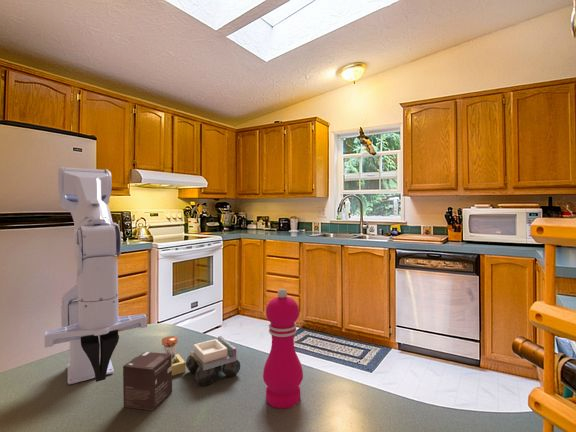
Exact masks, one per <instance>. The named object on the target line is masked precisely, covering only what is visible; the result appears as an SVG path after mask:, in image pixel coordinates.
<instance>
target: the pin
mask: <svg viewBox="0 0 576 432" xmlns="http://www.w3.org/2000/svg"><path fill="white" fill-rule="evenodd" d="M178 340H179V337H178V336H176V335H169V336H165V337H163V338H161V345H162V346H163V353H165V354H171V361H172V364H175V363H176V354H177V344H178V342H179V341H178Z"/></svg>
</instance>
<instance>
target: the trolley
mask: <svg viewBox="0 0 576 432" xmlns="http://www.w3.org/2000/svg"><path fill="white" fill-rule="evenodd" d="M217 340H218V341H219V342H220V343H222V344H223V345H224V346H225V347H226V348H227V356H226V357H223V358H219V359H216V360H212V361H209V362H205V363H204V362H203V361H202V360H201V359H200V358H199V357H198V356H197V355H196V354H195V353H194V349H192V350H189V355H188V356H187V358H186V360H185V368H186V369H187V370H188V371H189V372H190V373H192V374H194V376H195V380H196V381H197V382H198V384H199V385H201V386H202V387H207V386H209V385H211V384H212V383H213V382H214V381H215V379H216V376H217V372H216V369H215V368H216V367H219V366H220V369H221V372H222V373H223V374H224V375H225V376H226V377H228V378H234V377H235V376H237V374H239V372H240V369H241V362H240V361H239V360H238V359H237V348H236V347H235V346H234V345H233V344H231V343H230V342H229V341H228V340H227V339H225V338H224V337H223V336H222V335H219V336H217Z"/></svg>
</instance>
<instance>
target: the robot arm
mask: <svg viewBox="0 0 576 432" xmlns="http://www.w3.org/2000/svg"><path fill="white" fill-rule="evenodd" d="M112 179H113V178H112V172H111V171H109V169H107V168H104V169H96V168H82V167H81V168H79V167H65V166H63V165H62V166H60V167H59V168H57V182H58V183H57V185H58V187H57V188H58V190H57V191H58V197H59V198H58V199H59V200H58V201H59V203H60V208H61V209H64V210H66V211H69V212H70V215H71V217H72V221H73V224H74V225H73V227H74V228H73V229H74V232H73V252H74V253H73V254H74V257H75V258H74V259H75V278H76V282H75V283H76V284H75V285H74V286H72V287H71V288H70V289H68V290H67V291H66V292H65V293H63V294H62V297H61V305H60V316H61V317H60V318H61V322H60V323H61V326H60V328H56V329H51V330H46V331H45V332H44V348H51V347H53V346H54V345H59V344H64V343H68V342H69V343H68V344H69V363H68V364H67V384H68V385H73V384H77V383H79V382H80V383H81V382H85V381H88V380H91V379H95V382H96V383H98V382H100V381H105V380H107V379H106V378H107V375H110V374H111V375H112V374H113V373H115V371H114V367H113V363H112V360H111V358H112V356H113V352H114V351H115V349H116V347H117V345H118V343H119V339H120V335H119V332H124V331H127V330H132V329H134V330H135V329H139V328H140V329H145V328H148V316H147V315H146V313H143V314H142V313H140V314H135V315H132V314H131V315H122V316H120V315H119V265H118V263H119V262H118V261H119V260H118V259H119V258H120V257H121V253H122V246H123V245H122V244H123V243H122V233H121V230H120V226H119V224H118V223H117V222H113V218H112V217H113V216H112V213H111V210H110V207H109V204H110V198H111V194H112V189H113V188H112V187H113V183H112V181H113V180H112Z"/></svg>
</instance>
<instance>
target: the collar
mask: <svg viewBox="0 0 576 432" xmlns="http://www.w3.org/2000/svg"><path fill="white" fill-rule="evenodd" d="M186 371H187V370H186V360H184V358H182V356H181V355H180V354H179V353H176V363H175V364H172V377H173V376H176V375H180V374H182V373H183V374H184V373H186Z"/></svg>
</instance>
